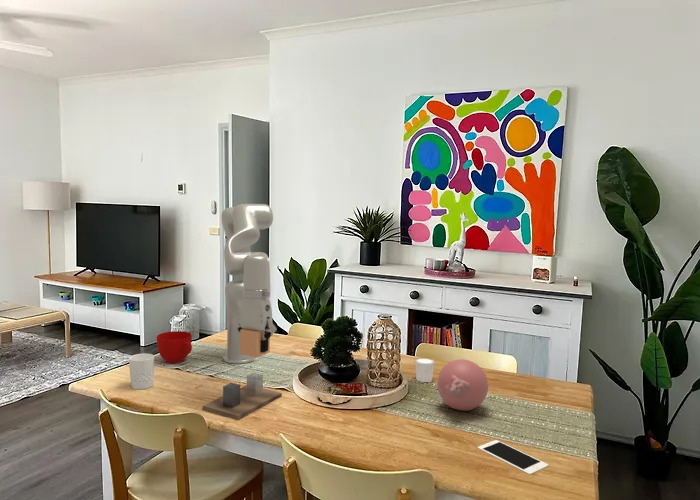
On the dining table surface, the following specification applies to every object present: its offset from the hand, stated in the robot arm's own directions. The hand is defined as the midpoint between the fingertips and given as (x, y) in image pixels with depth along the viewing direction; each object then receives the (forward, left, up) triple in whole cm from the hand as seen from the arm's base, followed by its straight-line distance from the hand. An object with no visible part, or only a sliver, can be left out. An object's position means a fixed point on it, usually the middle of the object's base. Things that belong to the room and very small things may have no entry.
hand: (255, 349), depth 165 cm
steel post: (0, 0, -16) cm, 16 cm away
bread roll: (-13, +22, -16) cm, 30 cm away
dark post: (+11, 0, -16) cm, 19 cm away
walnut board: (+5, 0, -16) cm, 17 cm away
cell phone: (-3, +80, -16) cm, 81 cm away
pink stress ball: (-24, +60, -16) cm, 66 cm away
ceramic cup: (-13, -48, -16) cm, 53 cm away
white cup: (+12, -38, -16) cm, 43 cm away
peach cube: (0, 0, -1) cm, 1 cm away
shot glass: (-45, +41, -16) cm, 63 cm away
